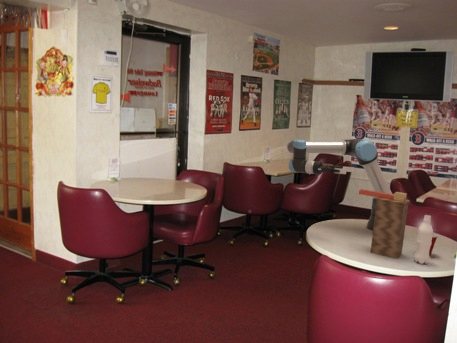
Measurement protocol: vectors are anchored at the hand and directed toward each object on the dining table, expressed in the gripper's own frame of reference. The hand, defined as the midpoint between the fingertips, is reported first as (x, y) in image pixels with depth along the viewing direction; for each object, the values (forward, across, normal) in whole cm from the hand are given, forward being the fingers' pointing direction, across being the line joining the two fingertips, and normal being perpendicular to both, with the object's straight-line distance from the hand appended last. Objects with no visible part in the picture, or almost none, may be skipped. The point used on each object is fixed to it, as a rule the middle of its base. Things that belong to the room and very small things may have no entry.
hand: (350, 170), depth 256 cm
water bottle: (+41, +1, -44) cm, 60 cm away
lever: (+18, 0, -13) cm, 22 cm away
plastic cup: (+40, -14, -44) cm, 61 cm away
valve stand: (+22, 0, -43) cm, 49 cm away
